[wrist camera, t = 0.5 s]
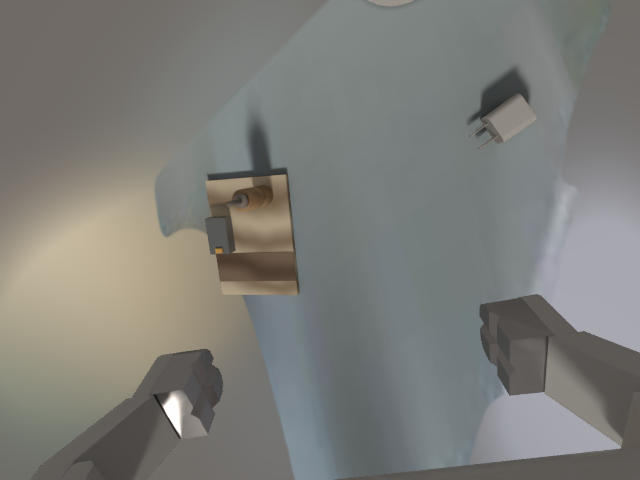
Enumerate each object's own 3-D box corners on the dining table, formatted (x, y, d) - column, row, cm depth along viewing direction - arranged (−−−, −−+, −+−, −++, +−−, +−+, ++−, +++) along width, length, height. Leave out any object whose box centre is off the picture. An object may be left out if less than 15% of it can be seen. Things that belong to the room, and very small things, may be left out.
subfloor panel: (208, 180, 57) (205, 181, 56) (287, 174, 54) (285, 174, 53) (225, 292, 61) (222, 294, 60) (299, 292, 58) (297, 295, 57)
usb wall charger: (526, 122, 45) (538, 119, 42) (478, 155, 47) (486, 154, 44) (509, 98, 45) (519, 92, 41) (462, 132, 47) (468, 129, 43)
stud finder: (212, 216, 57) (204, 219, 55) (231, 215, 56) (223, 218, 54) (217, 251, 58) (209, 254, 56) (235, 250, 58) (228, 254, 55)
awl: (253, 186, 54) (215, 192, 43) (272, 184, 54) (238, 190, 42) (255, 205, 55) (219, 217, 44) (274, 204, 54) (242, 216, 43)
